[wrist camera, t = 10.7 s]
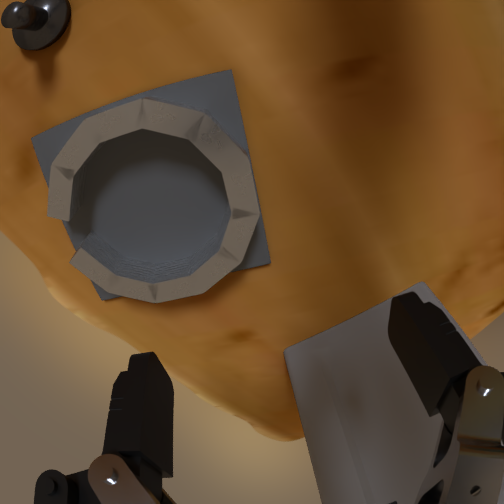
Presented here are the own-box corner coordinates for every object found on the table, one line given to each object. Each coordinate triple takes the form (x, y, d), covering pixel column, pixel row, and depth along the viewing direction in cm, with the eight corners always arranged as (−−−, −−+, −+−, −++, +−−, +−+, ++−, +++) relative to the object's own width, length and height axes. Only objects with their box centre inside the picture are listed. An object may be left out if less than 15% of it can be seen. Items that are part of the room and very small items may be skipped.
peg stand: (15, 11, 15) (-18, 5, 10) (66, -18, 15) (39, -32, 10) (23, 60, 17) (-11, 62, 13) (75, 33, 17) (47, 27, 13)
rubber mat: (34, 136, 21) (30, 138, 20) (231, 69, 21) (231, 69, 21) (103, 296, 30) (101, 300, 29) (269, 259, 30) (271, 263, 30)
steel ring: (38, 139, 21) (21, 148, 18) (228, 75, 21) (231, 74, 18) (105, 294, 29) (98, 314, 27) (266, 258, 29) (272, 277, 27)
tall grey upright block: (318, 401, 44) (366, 569, 21) (281, 350, 37) (340, 586, 13) (430, 346, 42) (513, 497, 18) (424, 279, 34) (555, 475, 10)
